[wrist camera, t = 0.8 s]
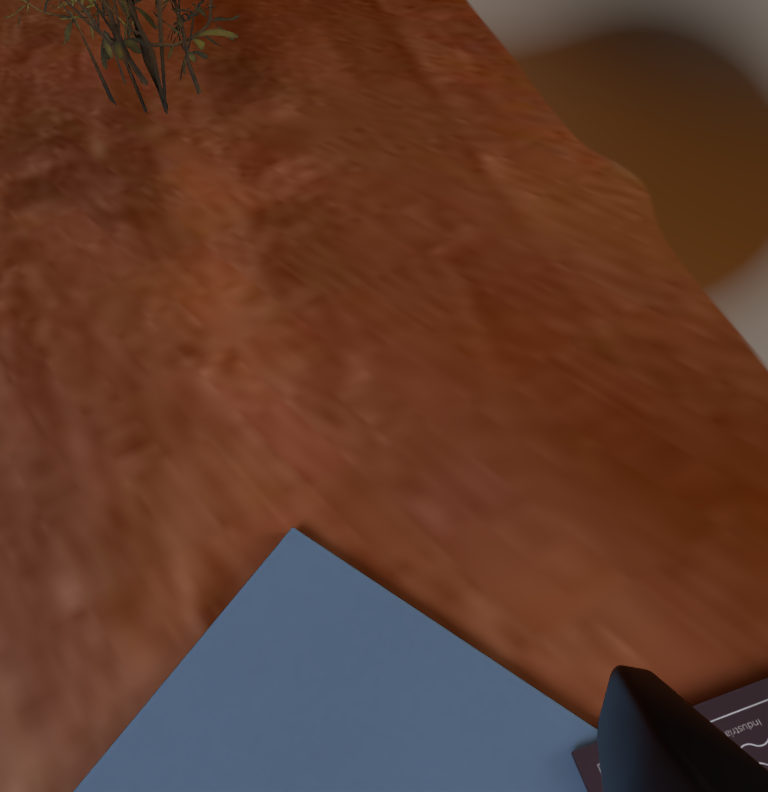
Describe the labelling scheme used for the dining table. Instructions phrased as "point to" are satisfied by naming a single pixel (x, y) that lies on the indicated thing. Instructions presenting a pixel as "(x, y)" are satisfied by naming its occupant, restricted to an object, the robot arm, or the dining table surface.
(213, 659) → the placemat
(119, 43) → the dried plant
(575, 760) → the chocolate bar
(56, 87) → the dining table surface
